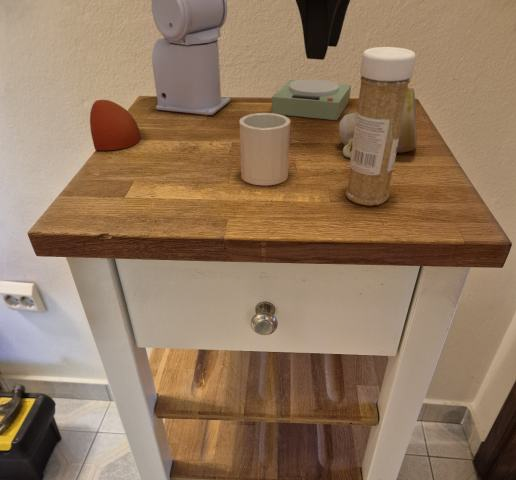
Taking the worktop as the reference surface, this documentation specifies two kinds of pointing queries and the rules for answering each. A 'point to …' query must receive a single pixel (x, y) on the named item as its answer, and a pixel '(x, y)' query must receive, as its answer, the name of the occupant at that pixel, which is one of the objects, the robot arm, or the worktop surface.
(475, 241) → the worktop surface
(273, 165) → the white hollow cylinder
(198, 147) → the worktop surface
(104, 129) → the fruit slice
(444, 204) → the worktop surface
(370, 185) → the sprinkles bottle
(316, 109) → the kitchen scale
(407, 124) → the mug
